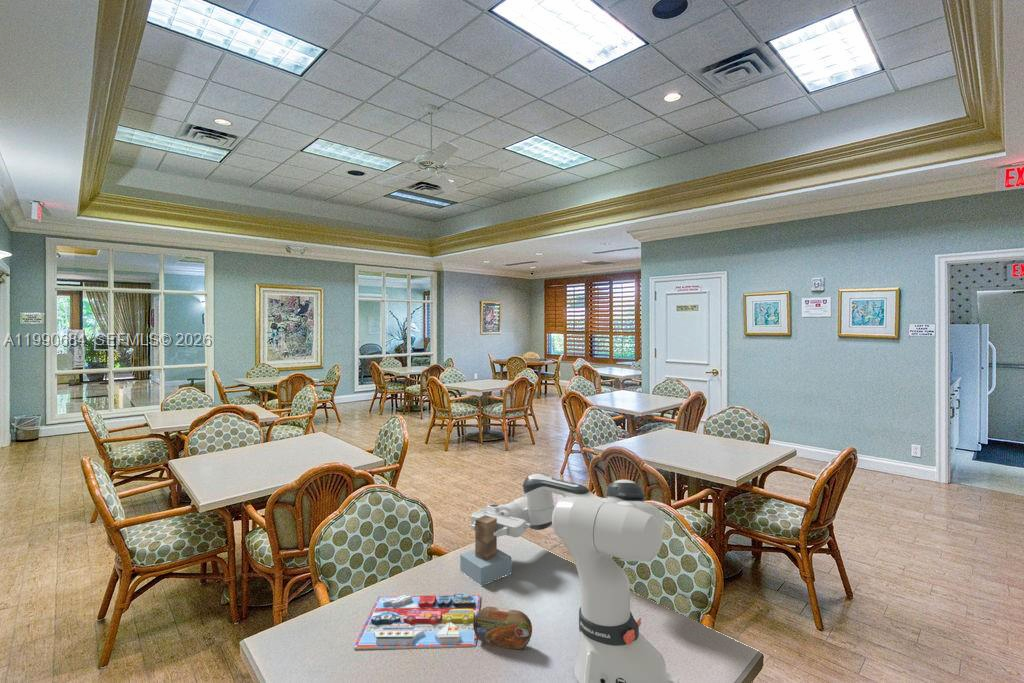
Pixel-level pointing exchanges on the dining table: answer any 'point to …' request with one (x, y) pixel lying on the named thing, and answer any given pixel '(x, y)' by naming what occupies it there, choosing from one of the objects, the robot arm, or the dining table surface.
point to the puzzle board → (420, 622)
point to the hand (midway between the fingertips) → (483, 531)
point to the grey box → (485, 566)
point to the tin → (503, 627)
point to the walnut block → (485, 537)
